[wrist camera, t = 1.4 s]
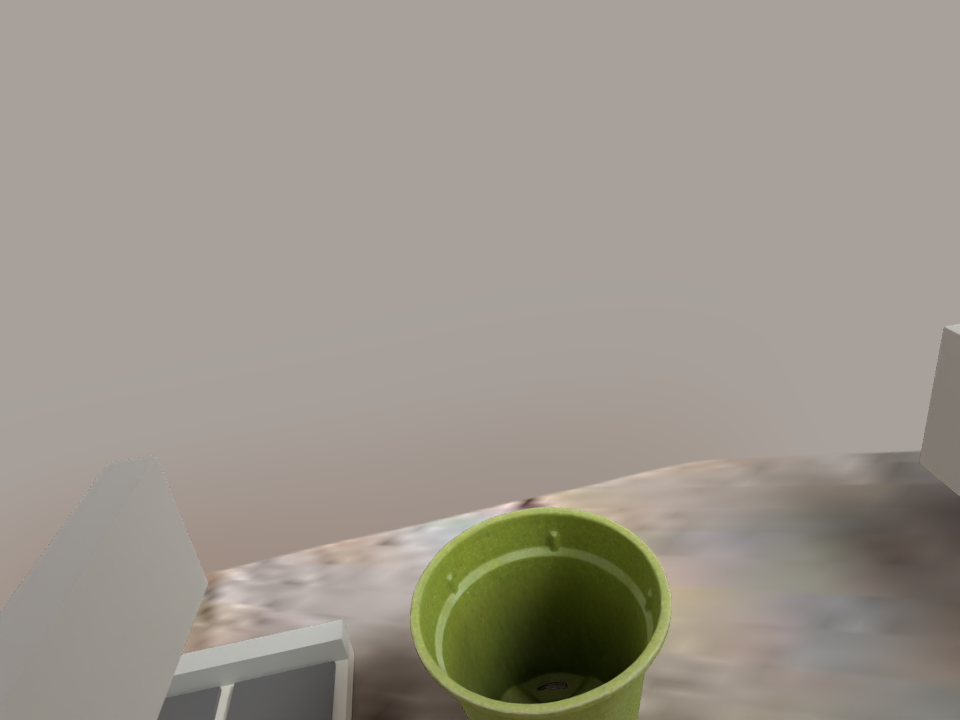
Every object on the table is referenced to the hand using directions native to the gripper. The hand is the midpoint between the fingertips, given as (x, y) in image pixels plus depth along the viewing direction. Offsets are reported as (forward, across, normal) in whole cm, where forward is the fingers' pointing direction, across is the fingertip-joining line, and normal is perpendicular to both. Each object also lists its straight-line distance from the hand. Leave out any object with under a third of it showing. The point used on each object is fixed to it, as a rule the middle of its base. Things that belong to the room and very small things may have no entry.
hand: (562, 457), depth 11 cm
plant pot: (+9, 0, -21) cm, 22 cm away
